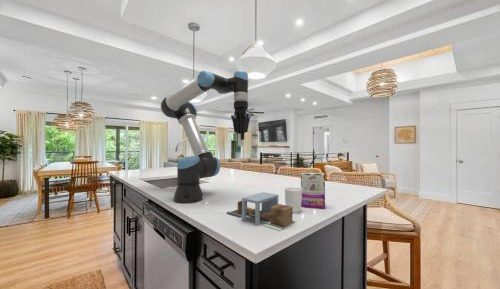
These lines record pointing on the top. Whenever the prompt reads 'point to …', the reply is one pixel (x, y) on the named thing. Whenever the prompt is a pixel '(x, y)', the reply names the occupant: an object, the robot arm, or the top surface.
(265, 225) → the mat
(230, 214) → the dark grey flat plate
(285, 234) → the top surface
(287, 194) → the white cup
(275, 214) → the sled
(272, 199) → the tunnel
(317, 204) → the candy bar box
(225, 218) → the top surface
